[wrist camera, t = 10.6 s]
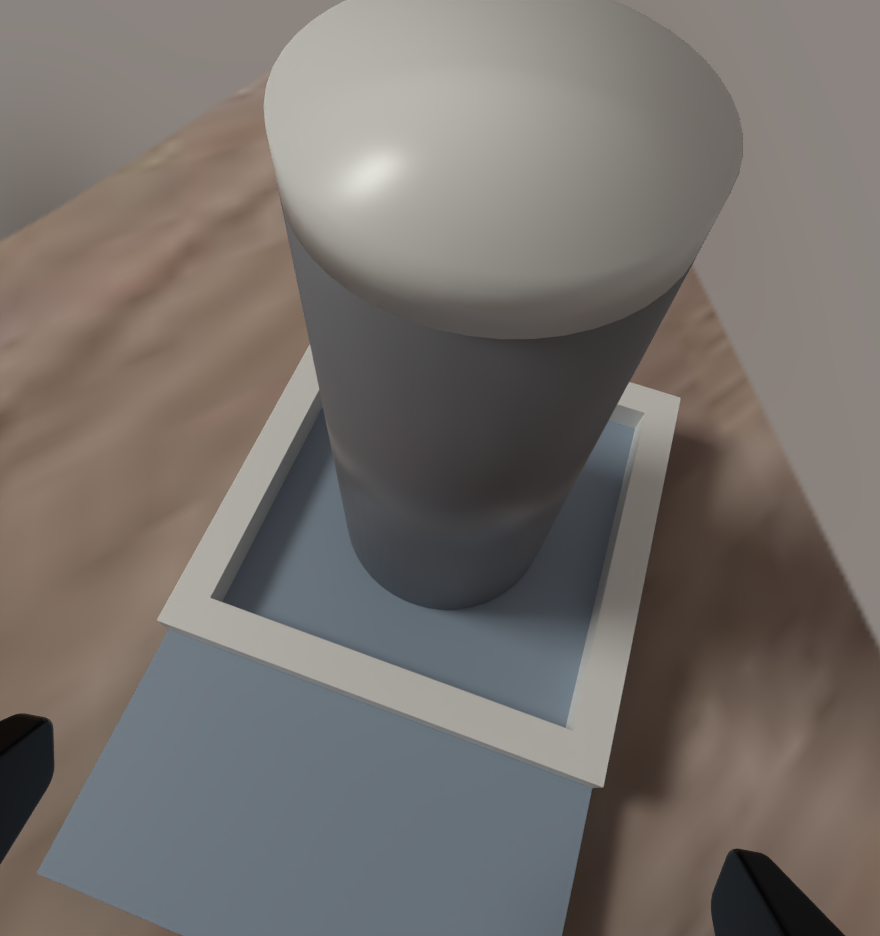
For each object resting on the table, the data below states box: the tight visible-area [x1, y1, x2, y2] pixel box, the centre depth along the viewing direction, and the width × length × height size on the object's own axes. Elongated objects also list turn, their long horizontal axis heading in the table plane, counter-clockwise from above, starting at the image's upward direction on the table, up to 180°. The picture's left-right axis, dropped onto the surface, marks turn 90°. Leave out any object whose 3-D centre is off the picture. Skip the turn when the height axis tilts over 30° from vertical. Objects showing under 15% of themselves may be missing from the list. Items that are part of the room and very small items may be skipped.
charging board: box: [37, 345, 681, 936], centre depth 18 cm, size 18×12×2 cm, turn 161°
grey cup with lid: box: [264, 0, 743, 610], centre depth 14 cm, size 6×6×13 cm
